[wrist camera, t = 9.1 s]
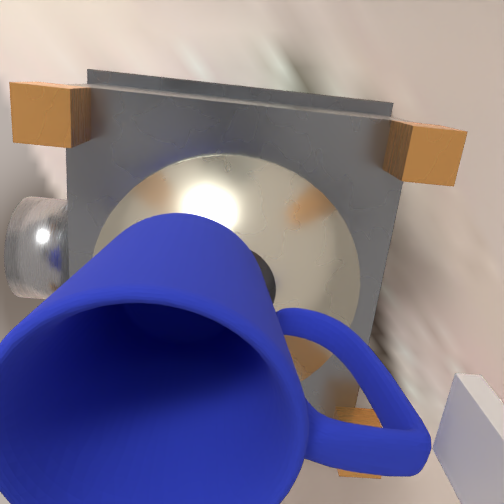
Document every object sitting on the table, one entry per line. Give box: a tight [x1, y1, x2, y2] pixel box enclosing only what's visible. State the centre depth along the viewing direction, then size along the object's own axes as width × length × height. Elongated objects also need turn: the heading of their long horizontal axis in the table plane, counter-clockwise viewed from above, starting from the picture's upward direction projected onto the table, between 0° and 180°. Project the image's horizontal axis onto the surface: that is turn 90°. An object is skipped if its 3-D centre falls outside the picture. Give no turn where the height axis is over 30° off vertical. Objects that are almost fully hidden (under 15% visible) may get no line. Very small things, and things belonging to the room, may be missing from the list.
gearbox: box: [4, 69, 467, 479], centre depth 23 cm, size 17×18×8 cm
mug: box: [0, 213, 431, 504], centre depth 17 cm, size 8×12×10 cm
